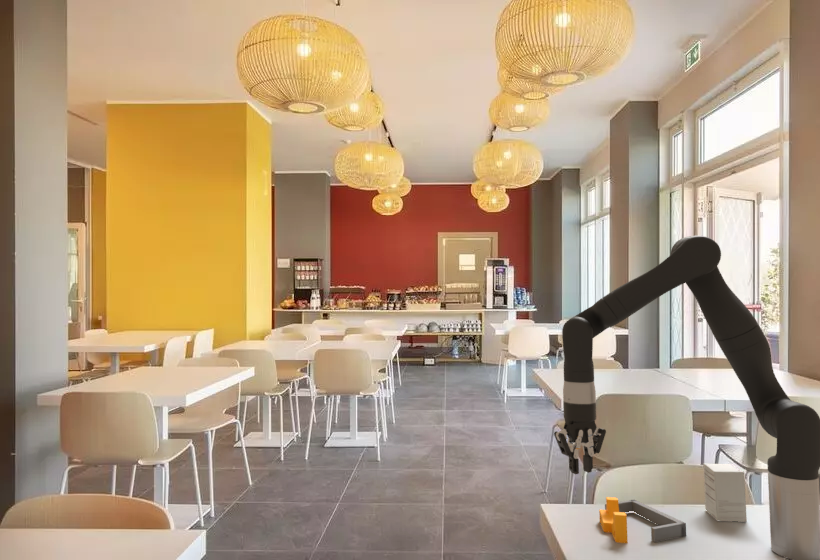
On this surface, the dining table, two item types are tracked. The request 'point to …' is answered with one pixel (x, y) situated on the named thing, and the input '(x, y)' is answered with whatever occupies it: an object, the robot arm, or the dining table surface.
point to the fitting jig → (656, 520)
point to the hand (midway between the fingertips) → (581, 472)
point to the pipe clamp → (614, 520)
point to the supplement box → (725, 492)
